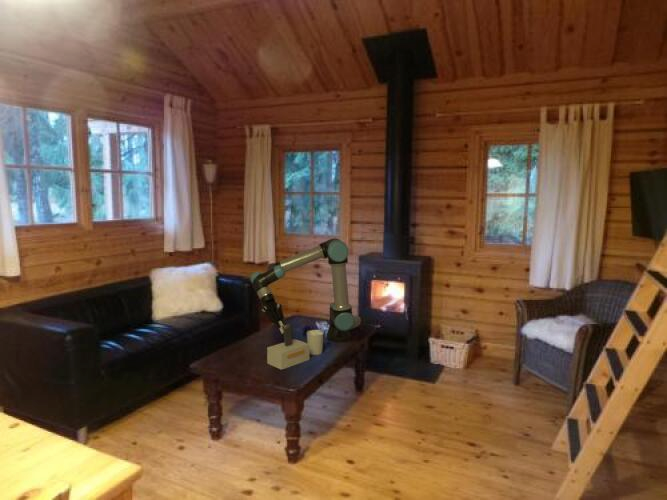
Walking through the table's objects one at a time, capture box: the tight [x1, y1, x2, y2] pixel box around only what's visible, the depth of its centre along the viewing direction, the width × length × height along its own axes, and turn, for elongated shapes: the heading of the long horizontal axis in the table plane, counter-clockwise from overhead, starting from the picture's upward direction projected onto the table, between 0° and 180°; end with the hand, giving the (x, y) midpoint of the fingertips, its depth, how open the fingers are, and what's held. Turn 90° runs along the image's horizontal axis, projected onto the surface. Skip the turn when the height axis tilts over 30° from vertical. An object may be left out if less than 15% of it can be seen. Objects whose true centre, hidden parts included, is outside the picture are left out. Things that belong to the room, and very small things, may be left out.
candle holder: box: [306, 329, 324, 356], centre depth 267 cm, size 10×10×12 cm
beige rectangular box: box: [266, 338, 310, 370], centre depth 253 cm, size 20×12×9 cm, turn 135°
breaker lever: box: [282, 323, 293, 346], centre depth 252 cm, size 5×2×11 cm, turn 135°
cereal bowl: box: [349, 314, 362, 331], centre depth 314 cm, size 17×17×7 cm
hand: (284, 332), depth 253 cm, fingers closed
